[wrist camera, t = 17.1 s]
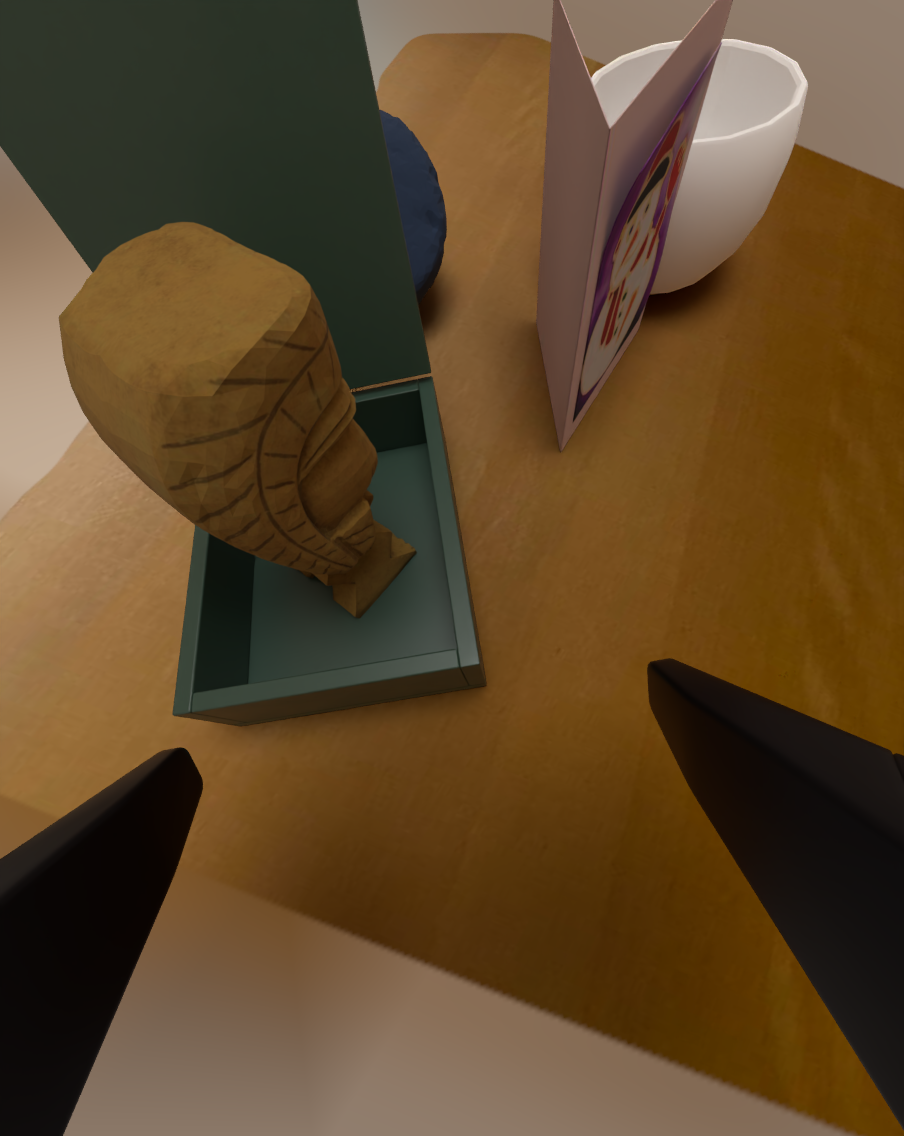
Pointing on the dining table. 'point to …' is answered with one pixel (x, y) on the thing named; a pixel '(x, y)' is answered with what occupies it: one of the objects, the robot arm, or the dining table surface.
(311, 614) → the green open box
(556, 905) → the dining table surface
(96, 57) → the box lid
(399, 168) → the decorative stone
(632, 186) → the greeting card
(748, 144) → the cup
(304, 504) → the figurine
